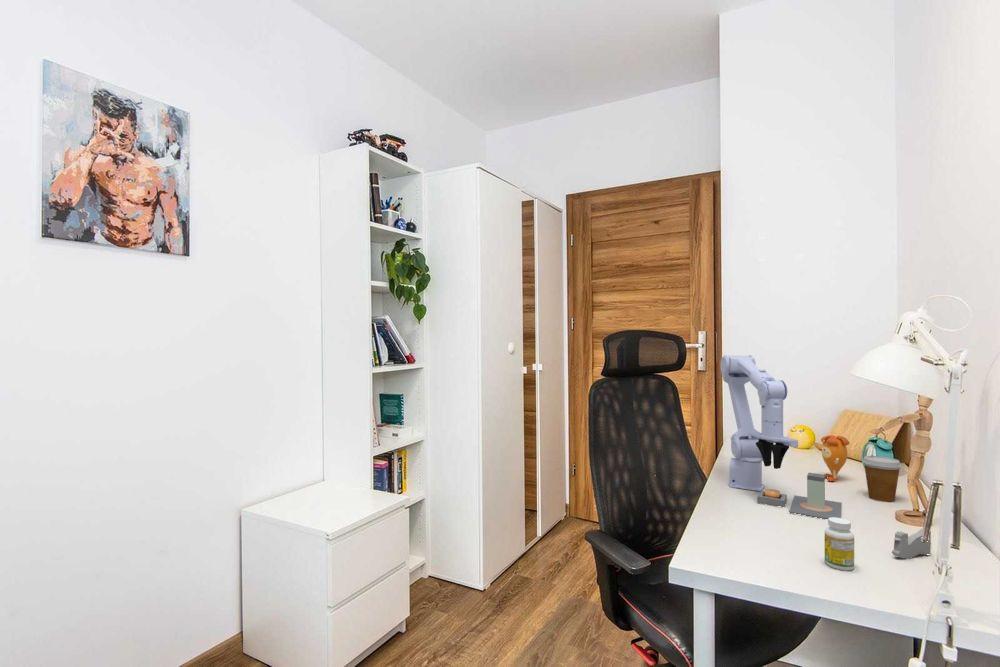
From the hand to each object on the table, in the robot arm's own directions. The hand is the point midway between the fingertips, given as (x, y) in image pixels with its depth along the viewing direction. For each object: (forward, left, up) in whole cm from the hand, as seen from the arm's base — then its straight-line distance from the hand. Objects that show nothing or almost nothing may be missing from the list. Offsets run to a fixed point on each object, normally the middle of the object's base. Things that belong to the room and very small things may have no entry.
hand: (772, 467), depth 151 cm
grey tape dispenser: (+30, -24, -11) cm, 40 cm away
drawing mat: (+11, +1, -10) cm, 15 cm away
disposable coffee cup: (+27, +23, -11) cm, 37 cm away
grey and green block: (+11, +1, -10) cm, 15 cm away
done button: (0, 0, -9) cm, 9 cm away
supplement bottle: (+17, -39, -11) cm, 44 cm away
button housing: (0, 0, -10) cm, 10 cm away
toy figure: (+15, +39, -11) cm, 43 cm away
